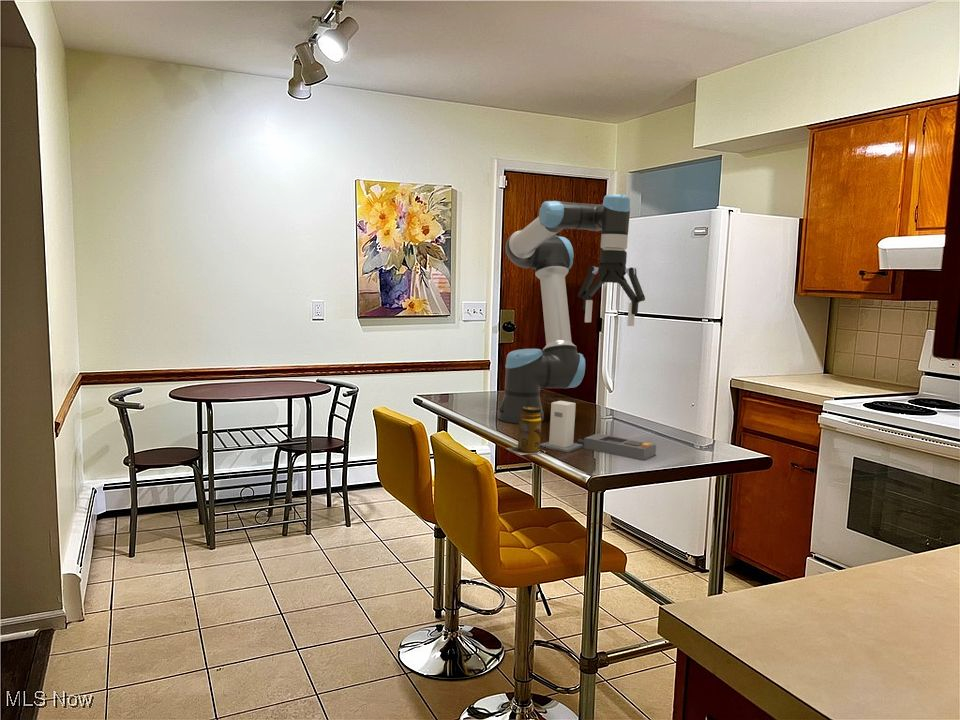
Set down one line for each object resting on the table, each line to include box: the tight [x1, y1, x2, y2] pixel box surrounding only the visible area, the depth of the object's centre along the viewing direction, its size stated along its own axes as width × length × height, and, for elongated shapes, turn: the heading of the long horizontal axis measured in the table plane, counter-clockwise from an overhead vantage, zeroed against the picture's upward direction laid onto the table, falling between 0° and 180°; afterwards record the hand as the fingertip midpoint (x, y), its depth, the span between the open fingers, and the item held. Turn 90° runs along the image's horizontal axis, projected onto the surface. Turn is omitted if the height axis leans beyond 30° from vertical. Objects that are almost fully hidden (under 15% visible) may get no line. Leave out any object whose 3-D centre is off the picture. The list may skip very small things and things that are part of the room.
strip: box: [576, 433, 657, 461], centre depth 201 cm, size 22×8×4 cm, turn 53°
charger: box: [548, 400, 577, 448], centre depth 202 cm, size 5×5×12 cm
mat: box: [540, 441, 584, 453], centre depth 202 cm, size 9×9×1 cm
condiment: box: [505, 406, 546, 456], centre depth 195 cm, size 7×8×12 cm
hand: (608, 324), depth 207 cm, fingers open, 13 cm apart
